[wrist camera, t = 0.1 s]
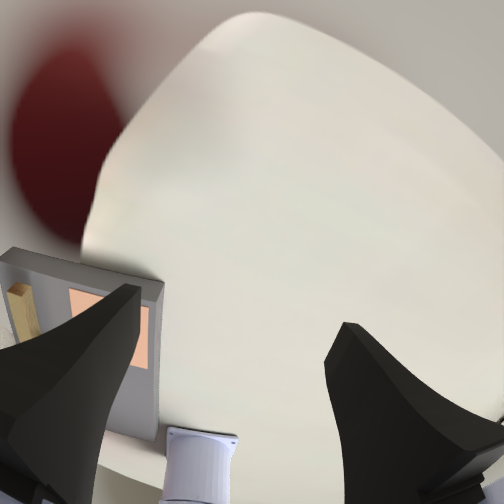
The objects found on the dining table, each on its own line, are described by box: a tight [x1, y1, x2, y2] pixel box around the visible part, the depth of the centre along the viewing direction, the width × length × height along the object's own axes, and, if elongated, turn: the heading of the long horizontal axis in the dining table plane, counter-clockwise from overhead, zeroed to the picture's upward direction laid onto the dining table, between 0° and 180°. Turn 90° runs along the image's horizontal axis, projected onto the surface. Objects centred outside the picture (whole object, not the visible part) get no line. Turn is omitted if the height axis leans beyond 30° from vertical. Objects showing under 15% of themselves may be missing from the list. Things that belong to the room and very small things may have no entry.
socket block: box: [0, 247, 165, 442], centre depth 23 cm, size 19×14×3 cm
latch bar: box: [6, 282, 41, 343], centre depth 20 cm, size 17×2×1 cm, turn 167°
